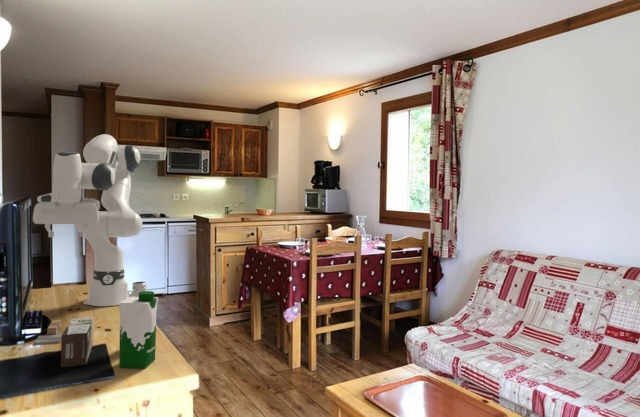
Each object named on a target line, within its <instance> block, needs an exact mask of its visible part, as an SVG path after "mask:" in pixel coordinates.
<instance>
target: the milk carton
mask: <svg viewBox="0 0 640 417" xmlns="http://www.w3.org/2000/svg"><path fill="white" fill-rule="evenodd" d="M158 301H159V297H155V292H154V291H151V290H150V291H149V290H145V291H143V292H139V297H130V298H128V299H125V300H123V301H121V302H119V305H118V307H119V346H118V348H119V349H118V350H119V355H118V356H119V357H118V360H119V361H118V363H119V365H118V366H119V368H120V369H122V368H123V369H143V370H144V369H147V367H149V366H150V364H152V363H153V362H154V361H155V360H156V346H157V345H156V344H157V343H156V342H157V340H156V339H157V310H158ZM119 368H118V369H119Z"/></svg>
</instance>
